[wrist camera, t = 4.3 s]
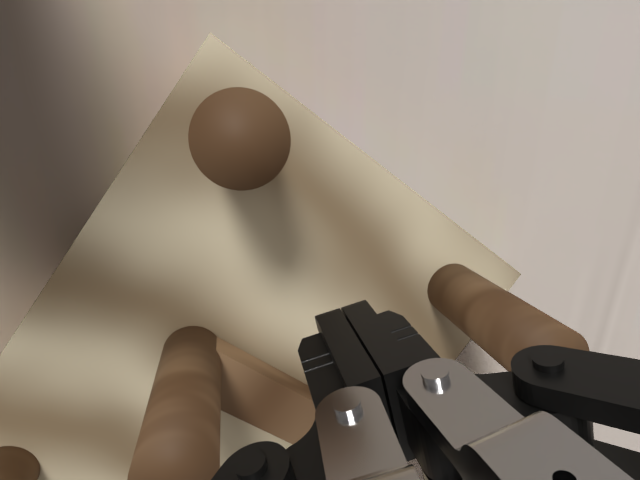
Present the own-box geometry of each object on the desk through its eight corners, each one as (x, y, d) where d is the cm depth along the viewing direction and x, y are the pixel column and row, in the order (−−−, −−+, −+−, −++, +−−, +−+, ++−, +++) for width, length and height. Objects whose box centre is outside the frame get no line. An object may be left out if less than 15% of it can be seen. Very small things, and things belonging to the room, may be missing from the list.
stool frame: (261, 572, 25) (280, 801, 17) (-60, 457, 20) (-274, 708, 11) (496, 261, 23) (653, 340, 15) (211, 42, 18) (199, -33, 9)
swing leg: (377, 420, 21) (446, 552, 15) (349, 458, 22) (403, 605, 15) (182, 316, 18) (158, 425, 12) (151, 361, 18) (109, 496, 12)
